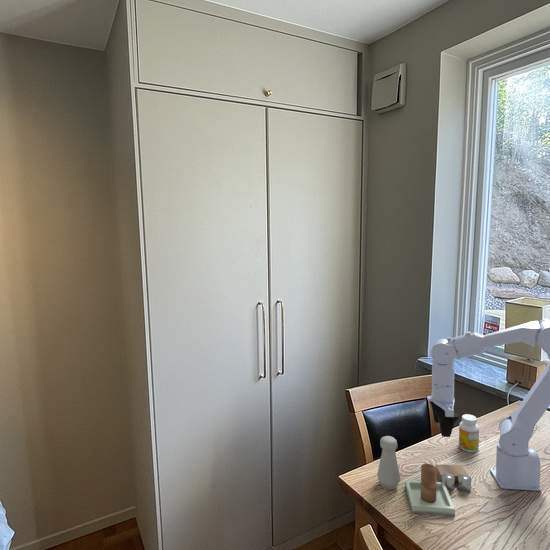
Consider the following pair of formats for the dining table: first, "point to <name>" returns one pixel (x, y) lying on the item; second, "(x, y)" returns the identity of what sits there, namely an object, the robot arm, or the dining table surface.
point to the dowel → (428, 483)
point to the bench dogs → (463, 482)
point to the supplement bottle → (469, 433)
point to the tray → (438, 508)
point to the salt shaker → (388, 464)
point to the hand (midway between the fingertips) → (442, 429)
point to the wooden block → (450, 471)
